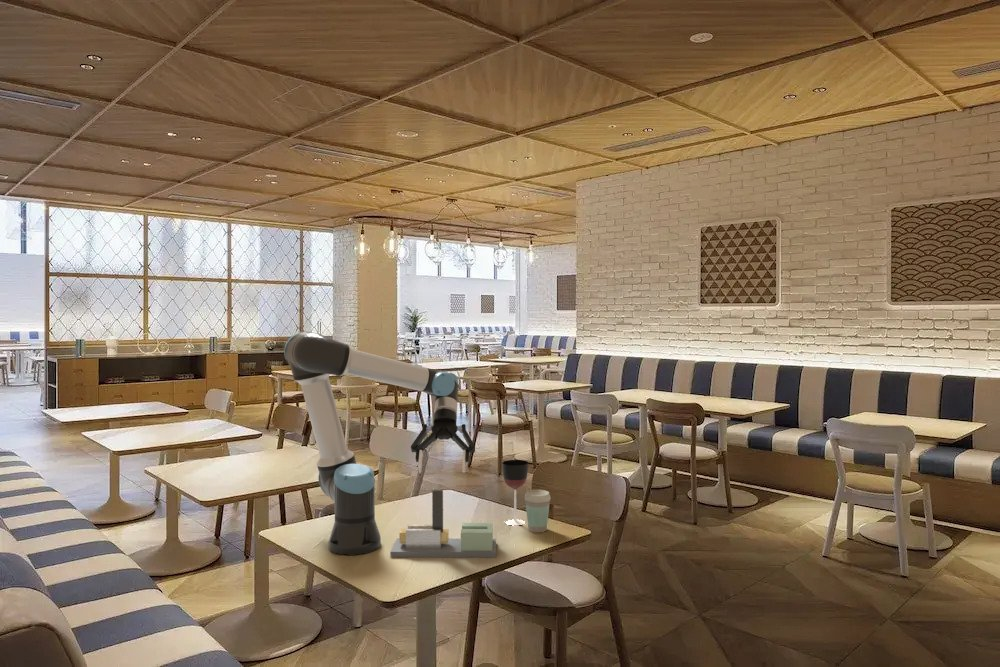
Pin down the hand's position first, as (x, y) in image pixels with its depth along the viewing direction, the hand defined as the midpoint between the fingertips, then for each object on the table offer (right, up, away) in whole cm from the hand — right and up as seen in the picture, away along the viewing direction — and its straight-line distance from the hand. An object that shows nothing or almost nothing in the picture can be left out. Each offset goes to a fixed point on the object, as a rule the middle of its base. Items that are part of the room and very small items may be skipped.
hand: (441, 470), depth 205 cm
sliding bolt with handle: (-4, -19, -10) cm, 22 cm away
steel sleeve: (-4, -20, -10) cm, 23 cm away
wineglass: (+23, -20, +15) cm, 34 cm away
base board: (+2, -21, -10) cm, 24 cm away
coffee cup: (+30, -21, +8) cm, 37 cm away
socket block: (+11, -20, -10) cm, 25 cm away
